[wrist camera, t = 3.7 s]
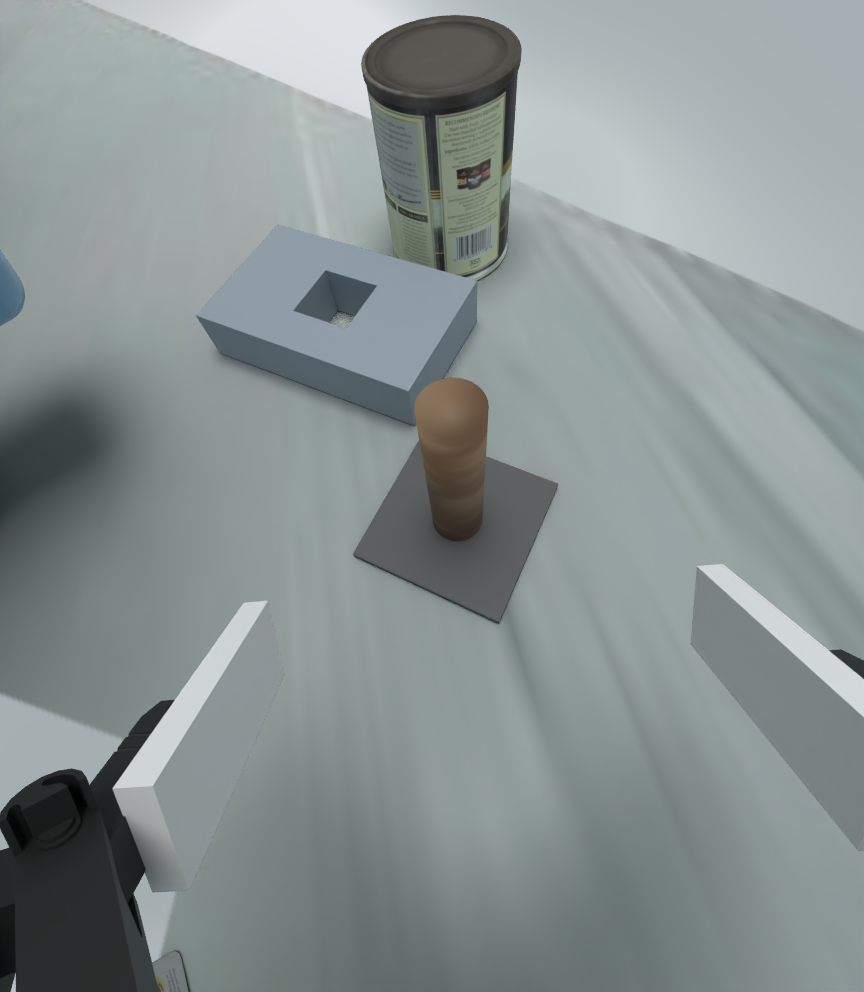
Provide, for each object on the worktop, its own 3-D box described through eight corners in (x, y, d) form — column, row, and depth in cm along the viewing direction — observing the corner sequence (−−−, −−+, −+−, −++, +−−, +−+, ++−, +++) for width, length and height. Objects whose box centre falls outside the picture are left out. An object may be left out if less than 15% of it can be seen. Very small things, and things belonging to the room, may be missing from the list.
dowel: (424, 529, 32) (401, 422, 21) (445, 489, 33) (434, 368, 23) (469, 549, 31) (469, 448, 21) (490, 507, 32) (500, 391, 22)
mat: (354, 556, 32) (352, 553, 32) (423, 435, 36) (423, 432, 35) (498, 623, 30) (499, 621, 29) (557, 486, 33) (558, 483, 33)
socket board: (219, 352, 41) (195, 315, 37) (293, 265, 45) (277, 224, 41) (414, 425, 36) (408, 391, 33) (476, 321, 40) (477, 280, 37)
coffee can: (441, 196, 48) (430, 0, 35) (530, 237, 44) (554, 36, 32) (368, 256, 45) (327, 66, 32) (458, 305, 41) (451, 113, 29)
